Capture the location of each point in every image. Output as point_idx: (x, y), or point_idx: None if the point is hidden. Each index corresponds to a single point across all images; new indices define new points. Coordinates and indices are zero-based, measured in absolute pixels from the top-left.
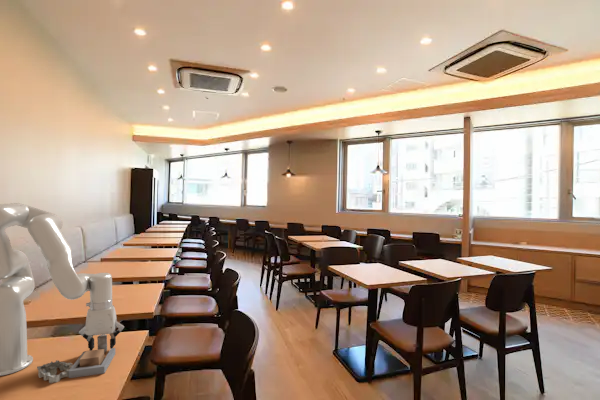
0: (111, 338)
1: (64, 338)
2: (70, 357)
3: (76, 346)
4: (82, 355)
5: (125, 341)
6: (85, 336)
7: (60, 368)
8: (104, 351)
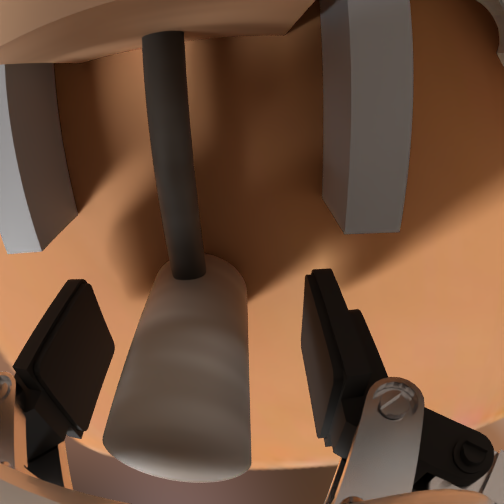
0: (34, 387)
1: (467, 424)
2: (472, 237)
3: (433, 378)
4: (385, 103)
5: (102, 394)
6: (455, 451)
7: (498, 5)
8: (161, 268)
